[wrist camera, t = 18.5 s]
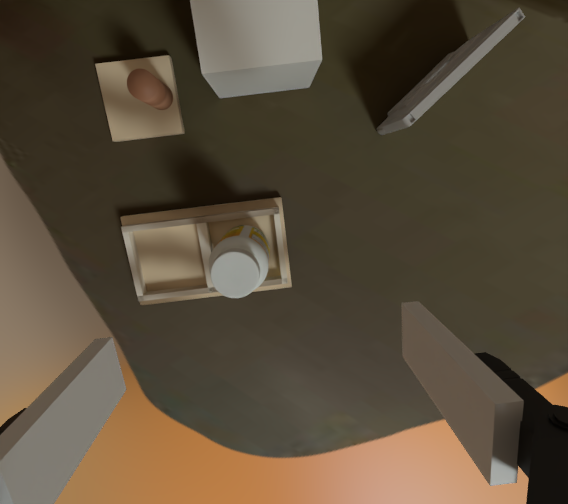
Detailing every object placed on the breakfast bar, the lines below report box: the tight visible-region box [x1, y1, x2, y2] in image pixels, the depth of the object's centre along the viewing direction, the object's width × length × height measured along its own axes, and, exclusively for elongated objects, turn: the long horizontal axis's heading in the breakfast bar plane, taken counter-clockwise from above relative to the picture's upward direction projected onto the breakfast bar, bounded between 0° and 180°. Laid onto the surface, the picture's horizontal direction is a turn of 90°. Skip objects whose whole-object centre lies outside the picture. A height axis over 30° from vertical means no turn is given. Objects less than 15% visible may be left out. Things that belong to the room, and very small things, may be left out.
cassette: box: [376, 8, 525, 135], centre depth 31 cm, size 12×2×8 cm, turn 134°
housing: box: [190, 0, 322, 98], centre depth 28 cm, size 9×9×9 cm
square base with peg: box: [95, 55, 185, 142], centre depth 31 cm, size 7×7×6 cm
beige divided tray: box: [120, 197, 292, 305], centre depth 37 cm, size 10×17×2 cm, turn 97°
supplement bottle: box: [209, 225, 270, 298], centre depth 32 cm, size 5×5×10 cm
